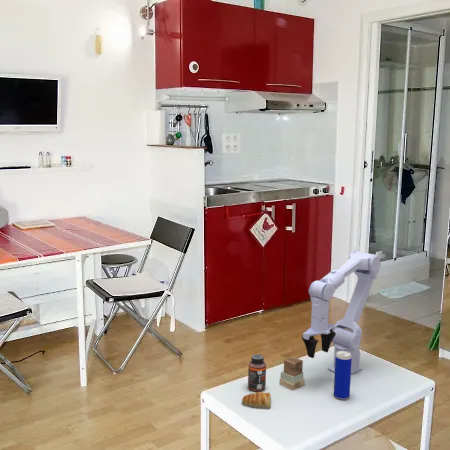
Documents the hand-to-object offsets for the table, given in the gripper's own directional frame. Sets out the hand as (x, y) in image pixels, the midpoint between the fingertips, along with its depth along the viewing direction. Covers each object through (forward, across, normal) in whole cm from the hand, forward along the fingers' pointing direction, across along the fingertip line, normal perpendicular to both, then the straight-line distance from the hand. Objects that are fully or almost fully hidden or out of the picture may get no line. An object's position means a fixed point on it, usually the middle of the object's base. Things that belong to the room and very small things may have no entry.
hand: (318, 354), depth 187 cm
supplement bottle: (+11, -19, +10) cm, 24 cm away
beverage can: (+11, -2, -12) cm, 16 cm away
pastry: (+11, -26, +2) cm, 28 cm away
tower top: (+8, -8, +5) cm, 12 cm away
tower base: (+11, -8, +5) cm, 14 cm away
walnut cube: (+6, -8, +4) cm, 11 cm away
